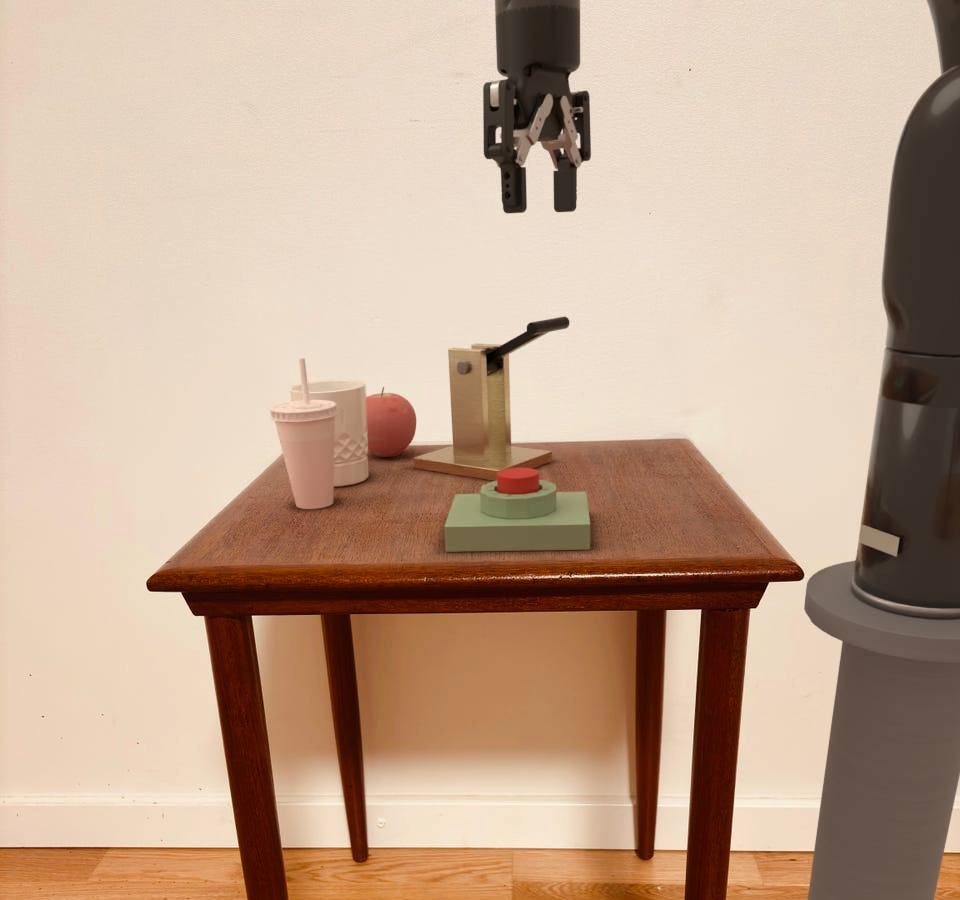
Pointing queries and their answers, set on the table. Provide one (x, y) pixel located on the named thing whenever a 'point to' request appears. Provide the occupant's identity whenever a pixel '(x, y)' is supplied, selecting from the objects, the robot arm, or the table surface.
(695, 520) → the table surface
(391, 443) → the apple
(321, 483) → the smoothie
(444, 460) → the tan pivot stand
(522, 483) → the button
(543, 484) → the button block
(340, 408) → the white cup
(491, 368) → the lever
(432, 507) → the table surface
